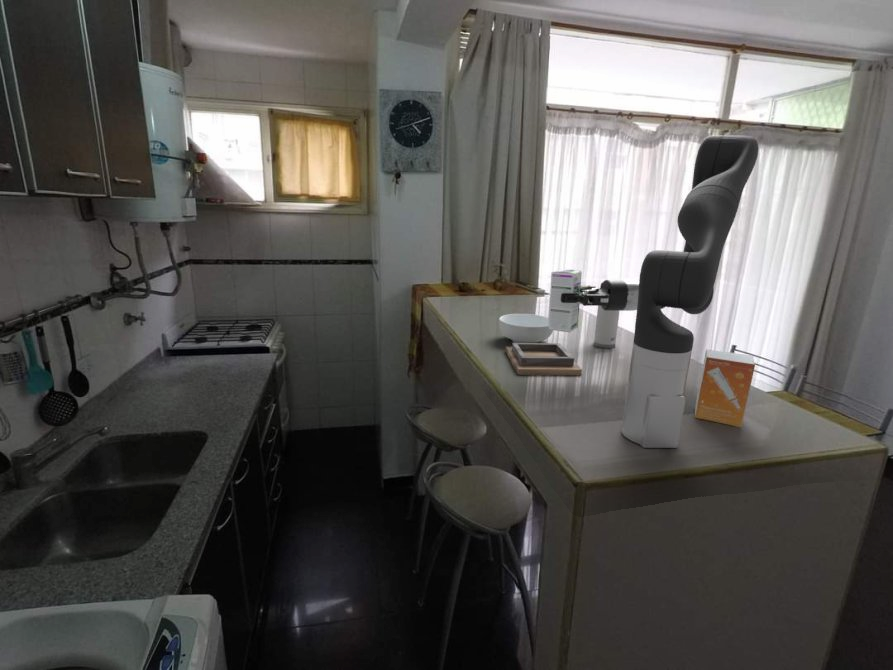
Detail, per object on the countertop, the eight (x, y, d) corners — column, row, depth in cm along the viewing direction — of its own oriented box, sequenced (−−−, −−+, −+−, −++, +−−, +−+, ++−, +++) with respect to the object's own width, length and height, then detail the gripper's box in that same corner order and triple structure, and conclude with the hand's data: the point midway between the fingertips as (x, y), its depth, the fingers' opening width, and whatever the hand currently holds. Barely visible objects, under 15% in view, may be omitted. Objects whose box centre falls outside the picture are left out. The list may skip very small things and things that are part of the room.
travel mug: (617, 349, 135) (626, 282, 130) (594, 347, 136) (602, 281, 131) (614, 343, 141) (622, 279, 136) (592, 341, 142) (599, 278, 137)
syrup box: (570, 333, 108) (575, 272, 104) (547, 329, 111) (551, 270, 108) (577, 328, 113) (583, 270, 109) (555, 324, 116) (559, 268, 112)
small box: (694, 418, 90) (705, 356, 86) (694, 407, 95) (705, 348, 92) (742, 428, 86) (756, 363, 83) (739, 416, 91) (752, 354, 88)
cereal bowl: (492, 345, 137) (493, 322, 135) (503, 332, 152) (505, 311, 150) (549, 351, 131) (551, 328, 129) (555, 337, 147) (557, 316, 145)
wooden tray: (581, 375, 112) (582, 361, 112) (517, 374, 112) (518, 361, 111) (560, 352, 131) (561, 340, 130) (505, 351, 130) (506, 340, 129)
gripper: (613, 275, 116) (550, 275, 116) (637, 284, 102) (566, 284, 102) (610, 304, 118) (548, 304, 118) (633, 316, 104) (563, 316, 104)
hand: (556, 294), depth 110 cm, fingers closed on syrup box, 7 cm apart
